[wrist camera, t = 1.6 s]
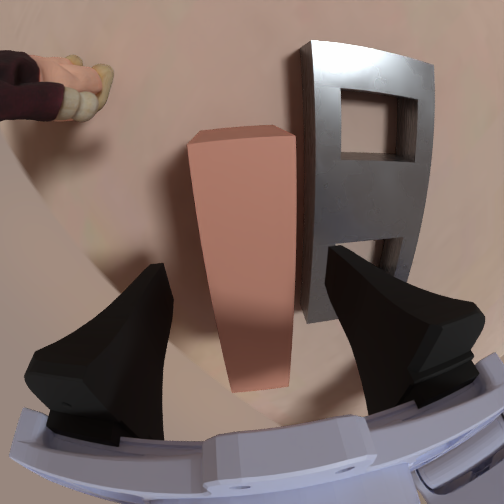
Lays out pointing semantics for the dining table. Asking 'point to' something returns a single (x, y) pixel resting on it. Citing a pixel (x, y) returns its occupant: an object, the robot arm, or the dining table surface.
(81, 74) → the grandmother figurine
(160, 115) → the dining table surface
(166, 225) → the dining table surface
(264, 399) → the dining table surface
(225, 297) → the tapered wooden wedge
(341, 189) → the slotted metal plate
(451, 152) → the dining table surface
